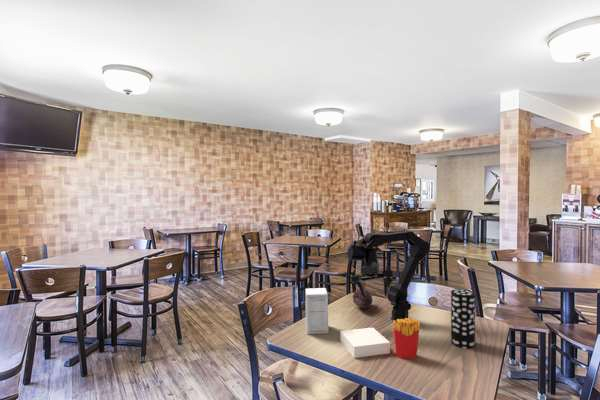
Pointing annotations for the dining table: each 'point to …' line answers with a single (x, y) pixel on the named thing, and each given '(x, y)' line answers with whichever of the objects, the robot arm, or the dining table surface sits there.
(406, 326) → the french fries
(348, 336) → the white flat square block
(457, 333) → the white-spotted black cylinder
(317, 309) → the supplement box
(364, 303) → the pine cone
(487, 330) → the dining table surface
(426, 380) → the dining table surface
